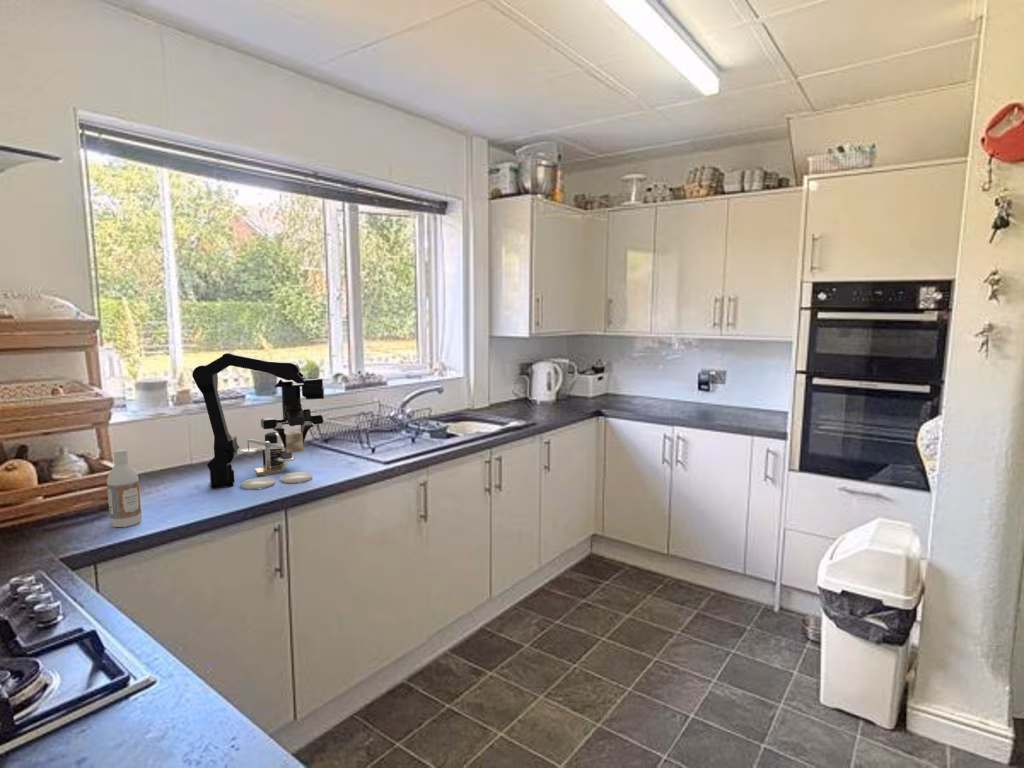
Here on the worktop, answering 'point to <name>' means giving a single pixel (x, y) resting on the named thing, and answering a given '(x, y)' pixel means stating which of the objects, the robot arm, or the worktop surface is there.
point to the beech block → (293, 441)
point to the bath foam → (123, 492)
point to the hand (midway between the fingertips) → (293, 446)
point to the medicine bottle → (273, 449)
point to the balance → (268, 457)
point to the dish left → (257, 483)
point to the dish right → (296, 477)
